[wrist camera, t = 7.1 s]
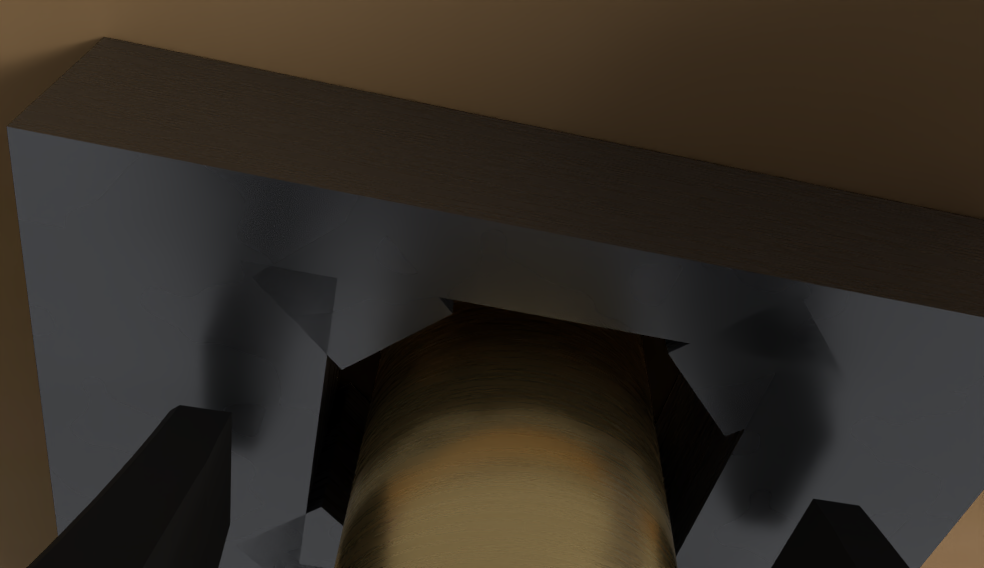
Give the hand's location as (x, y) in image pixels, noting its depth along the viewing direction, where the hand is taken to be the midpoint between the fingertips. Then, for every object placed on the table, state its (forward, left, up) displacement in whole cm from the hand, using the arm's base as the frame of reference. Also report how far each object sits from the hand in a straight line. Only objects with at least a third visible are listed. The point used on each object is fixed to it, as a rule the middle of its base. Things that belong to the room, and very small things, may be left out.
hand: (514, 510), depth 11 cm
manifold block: (0, +3, -3) cm, 5 cm away
